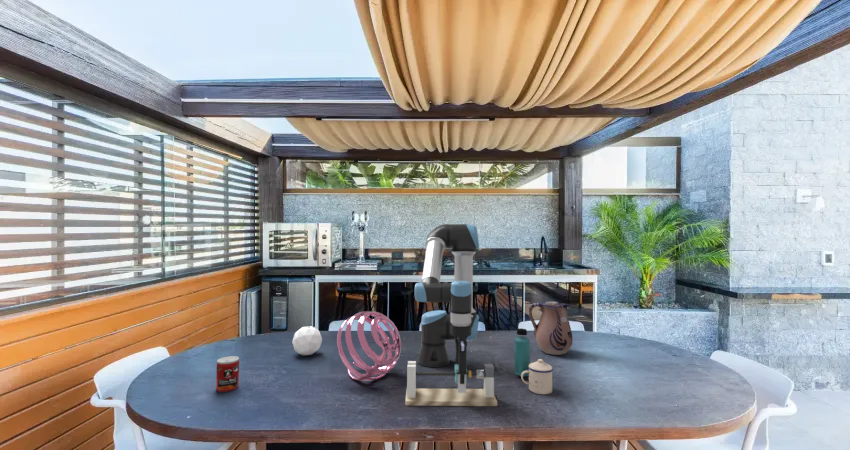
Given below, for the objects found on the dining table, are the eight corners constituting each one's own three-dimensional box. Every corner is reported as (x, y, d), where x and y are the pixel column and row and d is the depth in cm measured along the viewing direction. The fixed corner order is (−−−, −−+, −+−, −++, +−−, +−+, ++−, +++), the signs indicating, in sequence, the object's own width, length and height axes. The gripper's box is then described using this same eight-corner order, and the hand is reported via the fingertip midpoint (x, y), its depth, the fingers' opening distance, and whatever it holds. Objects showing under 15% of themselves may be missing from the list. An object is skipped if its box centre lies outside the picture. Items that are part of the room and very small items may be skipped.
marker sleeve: (455, 383, 135) (455, 369, 135) (454, 378, 140) (454, 364, 140) (466, 383, 135) (467, 369, 135) (465, 378, 140) (465, 364, 140)
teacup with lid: (548, 385, 150) (548, 355, 151) (556, 395, 141) (556, 363, 141) (518, 385, 150) (518, 355, 151) (524, 394, 141) (524, 363, 141)
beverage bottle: (530, 380, 155) (530, 331, 156) (514, 379, 157) (514, 330, 157) (529, 374, 162) (529, 327, 162) (513, 373, 163) (513, 326, 164)
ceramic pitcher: (578, 358, 184) (577, 306, 185) (534, 358, 184) (534, 306, 185) (565, 347, 201) (565, 300, 202) (525, 347, 202) (525, 300, 202)
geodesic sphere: (315, 335, 200) (302, 316, 193) (334, 339, 192) (320, 320, 185) (296, 358, 190) (281, 339, 183) (314, 364, 182) (299, 344, 175)
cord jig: (405, 405, 131) (405, 369, 132) (406, 392, 142) (406, 358, 143) (497, 406, 132) (497, 369, 132) (491, 392, 143) (491, 359, 143)
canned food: (215, 393, 140) (216, 363, 140) (216, 386, 147) (217, 357, 147) (238, 390, 143) (239, 360, 144) (238, 382, 151) (239, 354, 151)
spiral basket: (316, 326, 163) (355, 295, 151) (366, 330, 183) (404, 304, 171) (325, 393, 148) (369, 364, 136) (378, 390, 167) (421, 365, 155)
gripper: (475, 331, 128) (474, 399, 127) (468, 317, 148) (467, 376, 147) (452, 331, 128) (452, 399, 127) (448, 317, 148) (448, 376, 147)
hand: (460, 387), depth 137 cm, fingers open, 8 cm apart
